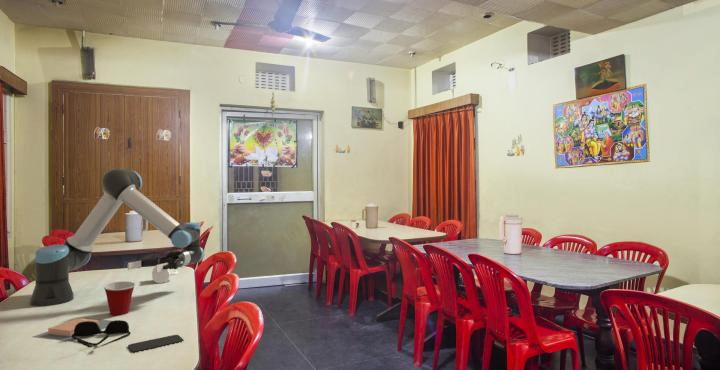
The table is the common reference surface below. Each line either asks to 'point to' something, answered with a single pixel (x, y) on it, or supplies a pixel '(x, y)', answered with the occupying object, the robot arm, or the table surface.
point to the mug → (162, 275)
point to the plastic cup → (119, 296)
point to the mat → (45, 335)
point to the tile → (67, 327)
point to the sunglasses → (99, 331)
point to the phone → (154, 343)
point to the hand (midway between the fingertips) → (142, 267)
